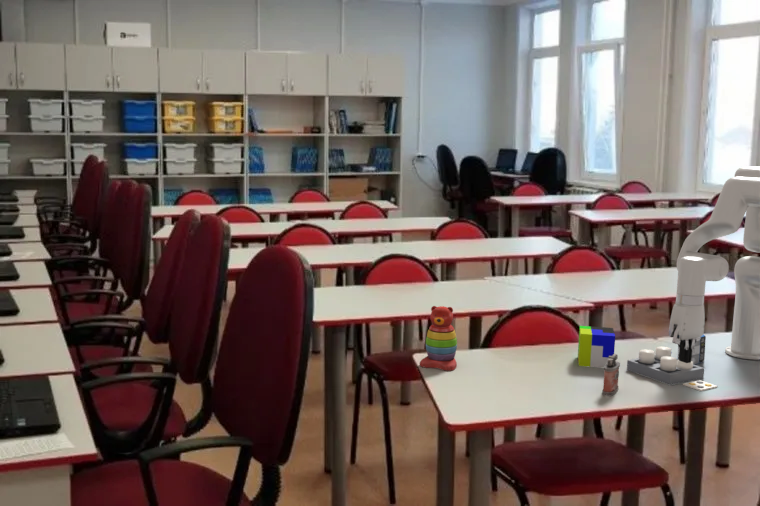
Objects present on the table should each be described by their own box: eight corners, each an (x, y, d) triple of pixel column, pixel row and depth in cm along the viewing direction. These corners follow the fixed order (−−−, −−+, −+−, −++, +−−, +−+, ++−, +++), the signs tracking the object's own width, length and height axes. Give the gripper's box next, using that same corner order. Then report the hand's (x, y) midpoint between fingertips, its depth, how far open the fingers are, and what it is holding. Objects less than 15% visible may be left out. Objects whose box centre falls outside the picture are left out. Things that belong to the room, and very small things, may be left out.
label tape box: (687, 367, 249) (690, 327, 247) (675, 363, 252) (679, 324, 250) (704, 362, 254) (707, 323, 252) (692, 359, 258) (696, 320, 255)
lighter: (612, 396, 221) (614, 360, 220) (599, 394, 223) (601, 358, 221) (620, 388, 228) (623, 353, 226) (608, 386, 230) (610, 351, 228)
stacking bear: (417, 366, 245) (419, 308, 242) (428, 358, 254) (430, 301, 251) (452, 371, 241) (454, 312, 238) (462, 362, 250) (464, 305, 247)
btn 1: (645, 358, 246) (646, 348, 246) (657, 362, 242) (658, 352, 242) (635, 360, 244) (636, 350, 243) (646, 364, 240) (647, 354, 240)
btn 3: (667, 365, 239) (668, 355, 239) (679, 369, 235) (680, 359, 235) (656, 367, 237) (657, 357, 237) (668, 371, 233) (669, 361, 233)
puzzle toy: (613, 368, 246) (615, 336, 245) (578, 366, 248) (580, 333, 247) (610, 359, 256) (612, 327, 255) (577, 356, 258) (579, 325, 256)
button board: (659, 363, 252) (660, 353, 252) (703, 378, 239) (704, 368, 238) (626, 369, 245) (627, 360, 245) (670, 385, 232) (670, 374, 231)
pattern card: (699, 381, 236) (699, 379, 236) (717, 387, 230) (717, 385, 230) (682, 384, 232) (683, 383, 232) (700, 391, 227) (700, 389, 227)
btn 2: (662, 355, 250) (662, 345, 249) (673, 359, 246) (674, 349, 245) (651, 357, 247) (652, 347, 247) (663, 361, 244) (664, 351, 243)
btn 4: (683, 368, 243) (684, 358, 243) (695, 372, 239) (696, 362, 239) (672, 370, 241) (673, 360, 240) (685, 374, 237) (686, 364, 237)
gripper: (696, 294, 243) (691, 355, 246) (661, 299, 236) (656, 361, 239) (718, 300, 237) (712, 361, 240) (682, 304, 230) (677, 368, 233)
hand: (684, 361), depth 239 cm, fingers closed
